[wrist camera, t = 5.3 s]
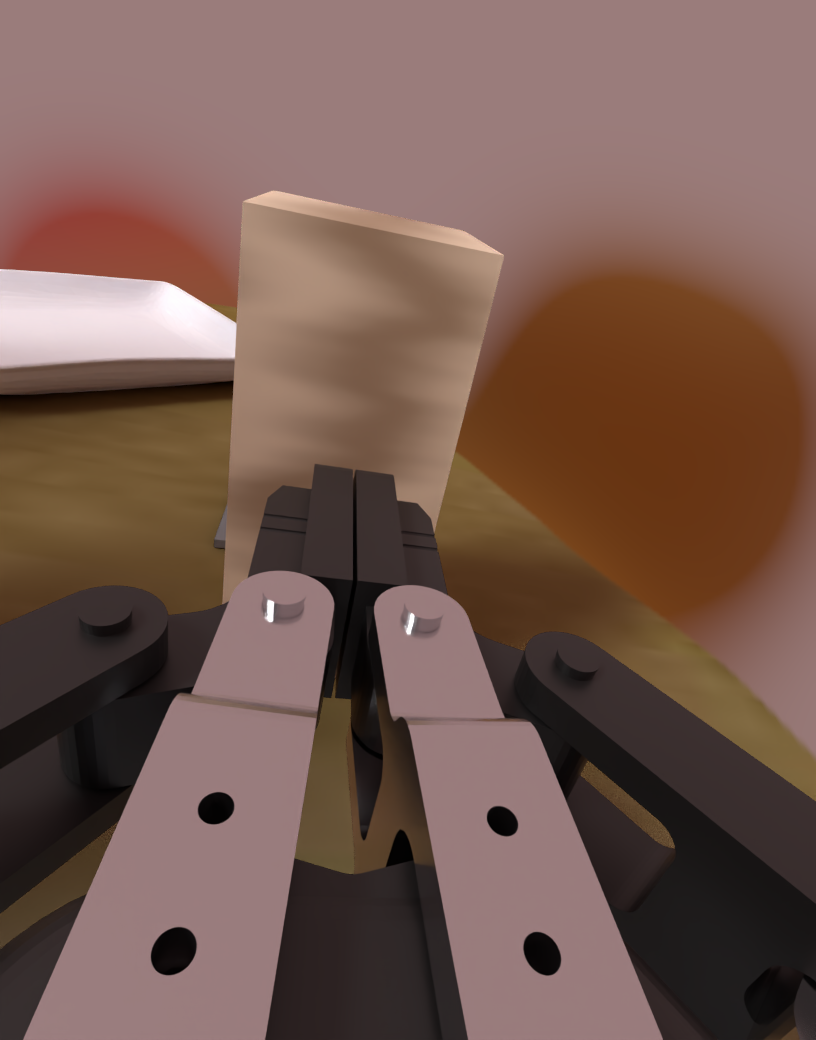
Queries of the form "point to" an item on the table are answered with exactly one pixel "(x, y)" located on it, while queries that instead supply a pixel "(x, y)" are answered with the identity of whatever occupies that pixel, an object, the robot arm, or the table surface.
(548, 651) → the robot arm
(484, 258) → the block
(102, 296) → the salad plate
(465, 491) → the table surface
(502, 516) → the table surface
